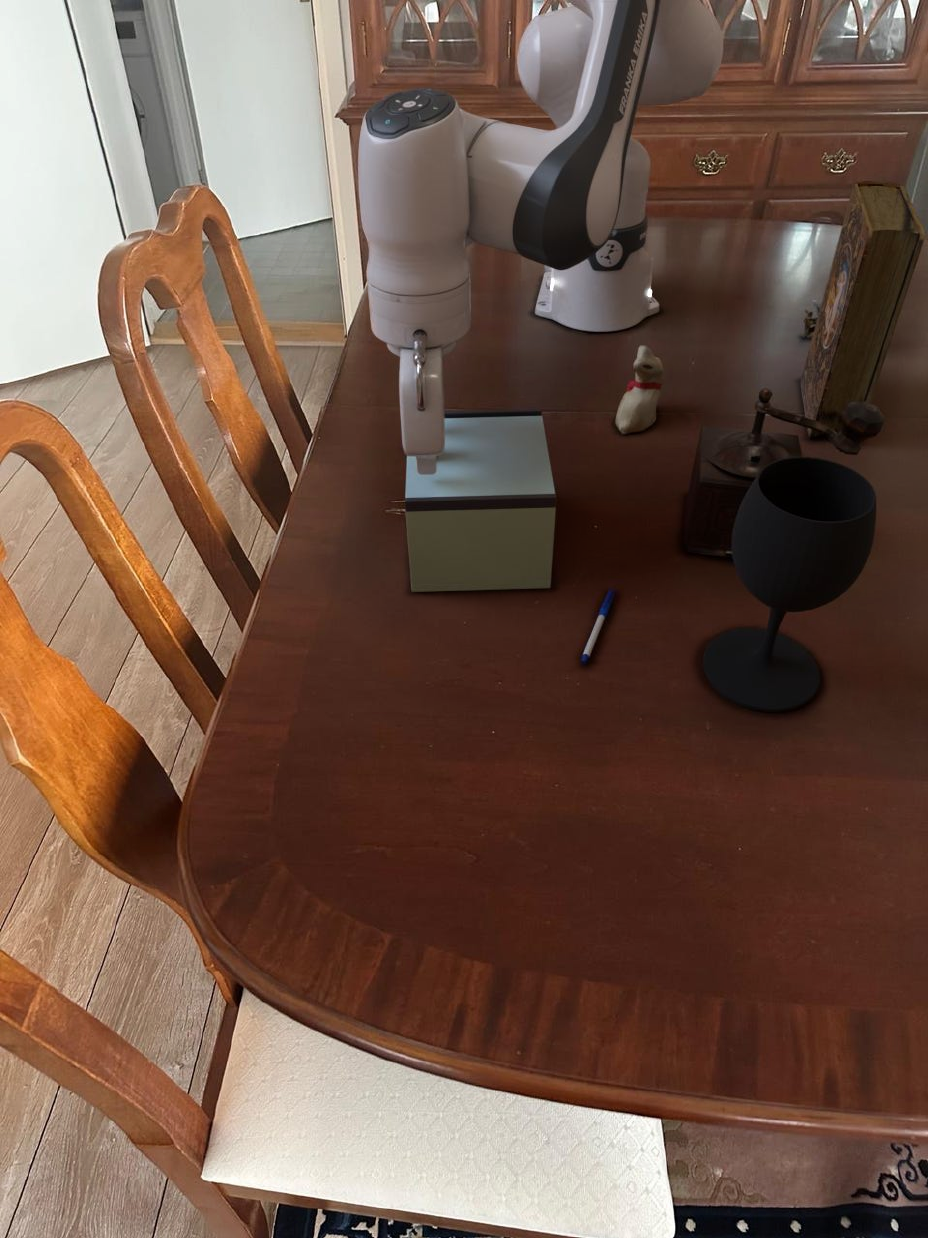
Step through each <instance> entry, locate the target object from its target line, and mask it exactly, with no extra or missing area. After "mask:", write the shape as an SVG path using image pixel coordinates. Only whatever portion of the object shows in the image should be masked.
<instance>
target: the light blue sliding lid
mask: <svg viewBox="0 0 928 1238" xmlns="http://www.w3.org/2000/svg"><path fill="white" fill-rule="evenodd" d="M405 469H406V471H405V493H404V494H405V497H404V499H405V498H421V497H457V496H494V495H530V494H556V490H555V485H554V484H555V483H554V478H553V471H552V466H551V461H550V454H549V447H548V442H547V437H546V430H545V424H544V419H543V415H542V416H516V417H480V418H445V449H444V453H443V454H442V455H439V456H436V469H437V471H436V473H435V474H430V475H421V474H419V473H418V471H417V459H416V457H412V456H407V455H406V468H405Z"/></svg>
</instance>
